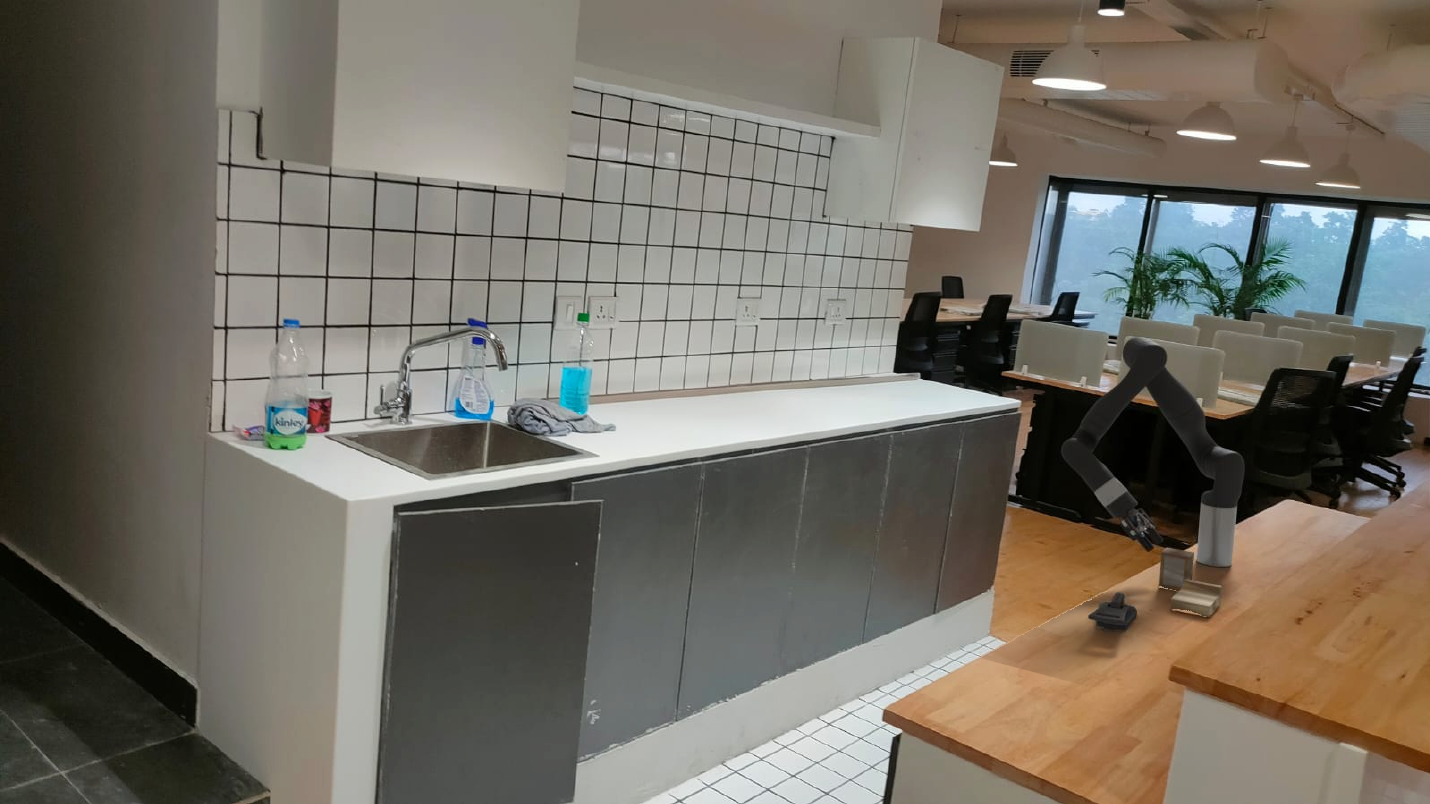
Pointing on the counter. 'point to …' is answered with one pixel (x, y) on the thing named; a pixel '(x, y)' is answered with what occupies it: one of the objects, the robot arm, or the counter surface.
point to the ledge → (1197, 597)
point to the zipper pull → (1114, 614)
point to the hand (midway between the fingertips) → (1156, 546)
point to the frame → (1175, 568)
